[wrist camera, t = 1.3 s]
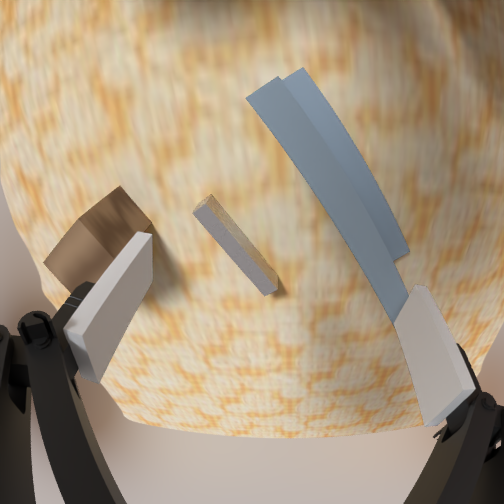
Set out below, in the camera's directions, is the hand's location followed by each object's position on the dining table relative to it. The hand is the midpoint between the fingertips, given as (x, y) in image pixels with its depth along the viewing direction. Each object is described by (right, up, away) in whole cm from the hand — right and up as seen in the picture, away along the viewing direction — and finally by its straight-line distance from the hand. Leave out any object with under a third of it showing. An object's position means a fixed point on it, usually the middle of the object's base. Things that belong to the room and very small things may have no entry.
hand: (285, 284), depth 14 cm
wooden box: (-21, +5, +25) cm, 33 cm away
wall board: (+9, +10, +19) cm, 23 cm away
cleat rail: (-3, +3, +24) cm, 25 cm away
